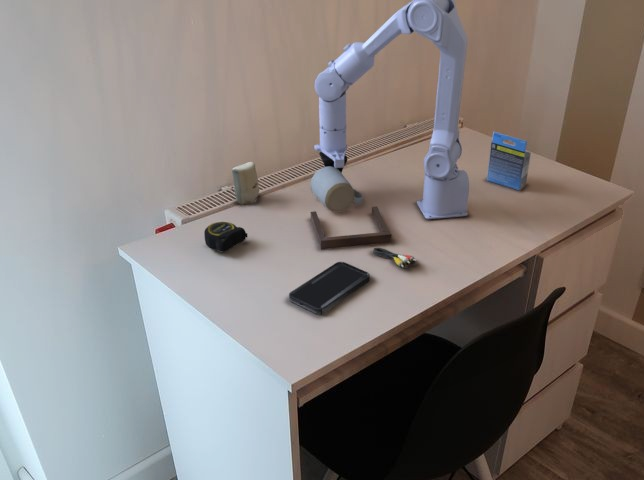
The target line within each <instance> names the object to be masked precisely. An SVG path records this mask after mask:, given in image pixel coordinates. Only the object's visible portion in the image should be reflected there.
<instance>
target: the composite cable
mask: <svg viewBox="0 0 644 480" xmlns="http://www.w3.org/2000/svg"><path fill="white" fill-rule="evenodd" d="M372 253H373V254H374V255H375V256H380V257H383V258H389V259H391V260H392V261H393V262H394V264H395V265H397V266H398V267H400V268H402V269H405V268H406V269H407V270H408V268H409V266H412V265H415V263H416V262H417V259H416V257H414V256H413V255H408V254H399V253H394V252H392V251H390V250H388V249H386V248H384V247H383V248H382V247H374V248H373V252H372Z"/></svg>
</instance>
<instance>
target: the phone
mask: <svg viewBox="0 0 644 480" xmlns="http://www.w3.org/2000/svg"><path fill="white" fill-rule="evenodd" d="M370 280H371V274H370V273H369V272H368V271H365V270H363V269H362V268H361V269H360V268H359V267H356V266H354V265H352V264H349V263H347V262H345V261H337V262H335V263H333V264H332V265H330V266H328V268H326V269H324V270H323V271H321V272H320V273H318V274H317V275H315V276H313V277H312V278H310V279H308V280H307V281H306V282H304V283H302V284H300V285H299V286H298V287H296V288H295V289H293V290H291V291H290V292H289V293H288V298H289V302H290V303H292V304H293V305H296V306H298V307H301V308H302V309H305V310H307V312H311V313H313V314H315V315H323V314H325V313H327V312H328V311H330V310H331V309H333V308H334V307H335V306H337V305H338V304H340V303H342V301H344V300H346V299H347V298H348V297H349V296H352V294H354V293H355V292H357V291H358V290H360V289H361V288H362V287H364V286H365V285H367V284H368V283H369V282H370Z"/></svg>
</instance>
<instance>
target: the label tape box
mask: <svg viewBox="0 0 644 480" xmlns="http://www.w3.org/2000/svg"><path fill="white" fill-rule="evenodd" d="M505 141H506V142H505ZM508 141H510V143H507V142H508ZM511 143H513V144H511ZM527 144H528V140H524V139H521V138H517V137H514V136H510V135H507V134H505V133H501V132H497V131H495V130H494V131H493V133H492V139H491V142H490V149H489V150H490V151H489V158H488V159H489V160H488V166H487V167H488V168H487V175H486V181H487V182H490V183H494V184H496V185H500V186H504V187H507V188H510V189H513V190H517V191H521V190H523V189H524V187H525V186H526V185H527V181H528V175H529V174H528V173H529V169H530V168H529V167H530V160H531V153H532V152H530V151H527Z"/></svg>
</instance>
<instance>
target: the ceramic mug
mask: <svg viewBox="0 0 644 480" xmlns="http://www.w3.org/2000/svg"><path fill="white" fill-rule="evenodd" d="M310 190H311V193H312V194H313V195H314V196H315V197H316V199H318V201H319V202H320V203H321V204H322V205H323V206H324V207H325V209H327V210H329V211H331V212H333V213H340V212H344V211H346V210H348V209H349V207H351V206H352V204H353V205H361V204H362V202H363V201H364V195H363V194H362V193H361V192H360V191H358V190H357V189H355V188H353V186H352V184H351V183H350V182H349V180H348V179H346V177H345V175H344V174H343V172H342V173H341V172H340V171H339V170H338V169H337V168H334V167H331V166H328V167H325V166H323V167H321V168H319V169H318V170H316V172H315V173H314V174H313V175H312V177H311V179H310Z"/></svg>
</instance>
